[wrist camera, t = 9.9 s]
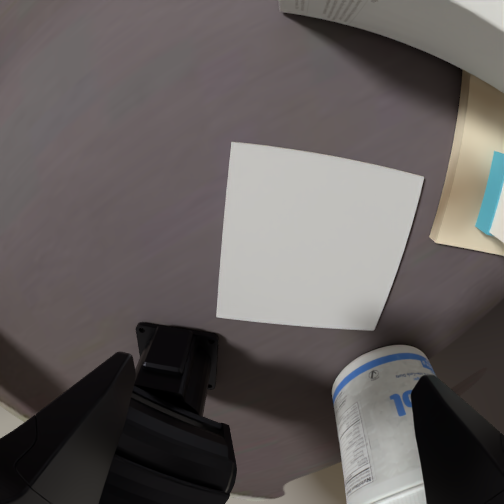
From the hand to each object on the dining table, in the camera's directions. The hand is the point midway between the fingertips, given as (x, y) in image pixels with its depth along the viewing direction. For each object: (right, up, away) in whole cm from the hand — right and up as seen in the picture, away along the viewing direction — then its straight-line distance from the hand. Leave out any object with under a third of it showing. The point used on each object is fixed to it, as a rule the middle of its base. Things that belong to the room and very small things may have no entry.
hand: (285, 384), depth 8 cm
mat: (+3, +4, +11) cm, 12 cm away
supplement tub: (+11, -8, +17) cm, 21 cm away
